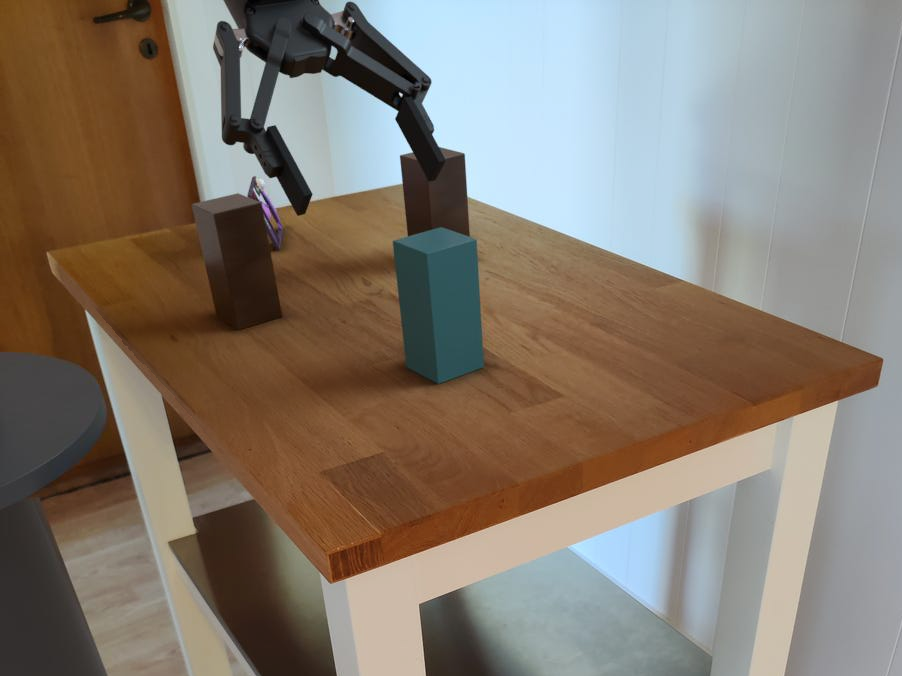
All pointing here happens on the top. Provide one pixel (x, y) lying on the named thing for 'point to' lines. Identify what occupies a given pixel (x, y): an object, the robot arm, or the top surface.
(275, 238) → the purple open frame
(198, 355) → the top surface
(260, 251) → the walnut block front
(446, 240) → the teal block
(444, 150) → the walnut block back
